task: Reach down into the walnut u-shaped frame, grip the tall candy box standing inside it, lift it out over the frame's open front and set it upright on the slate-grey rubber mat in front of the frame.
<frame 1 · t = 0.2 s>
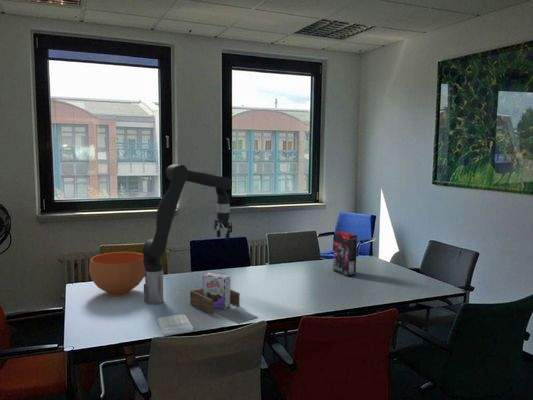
hand: (223, 238, 264), 29 cm above the table, tool pointing down, fingers open, 8 cm apart
calculator: (175, 327, 206), on the table
slate mat: (237, 315, 220), on the table
bowl: (118, 293, 251), on the table
candy box: (216, 306, 233), on the table
walnut u-shaped frame: (215, 305, 234), on the table
graphics card box: (344, 273, 300), on the table
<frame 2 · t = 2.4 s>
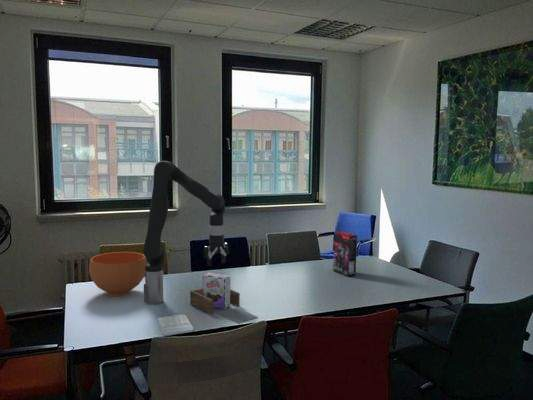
hand: (216, 264, 231), 22 cm above the table, tool pointing down, fingers open, 8 cm apart
nothing on the table moved.
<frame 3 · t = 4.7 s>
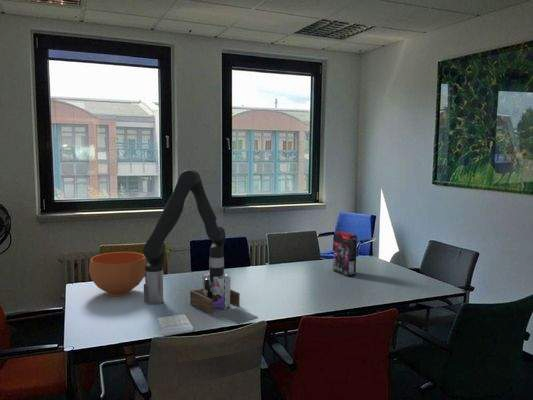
hand: (216, 296, 233), 5 cm above the table, tool pointing down, fingers closed on candy box, 7 cm apart
candy box: (216, 306, 233), on the table, touching gripper
everything else where it was.
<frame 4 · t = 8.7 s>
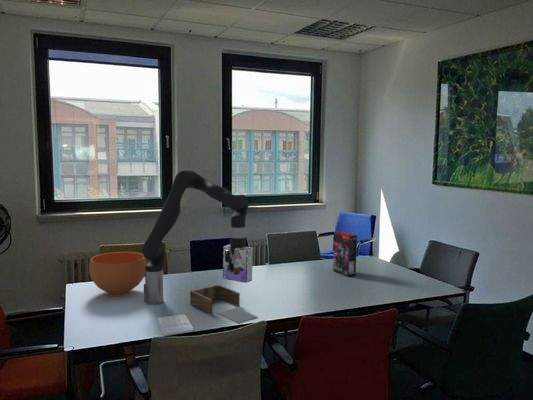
hand: (237, 269, 217), 23 cm above the table, tool pointing down, fingers closed on candy box, 7 cm apart
candy box: (237, 280, 218), point 18 cm above the table, touching gripper
everything else where it was.
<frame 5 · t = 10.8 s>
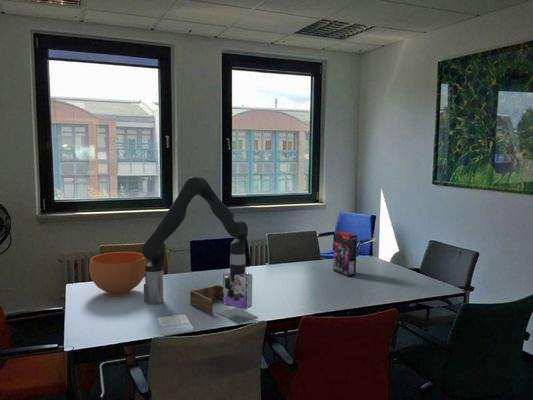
hand: (237, 295, 219), 10 cm above the table, tool pointing down, fingers closed on candy box, 7 cm apart
candy box: (237, 305, 219), point 5 cm above the table, touching gripper
everything else where it was.
when the fingers open (7 cm above the table, at t = 12.7 s): candy box drops 1 cm, resting on slate mat.
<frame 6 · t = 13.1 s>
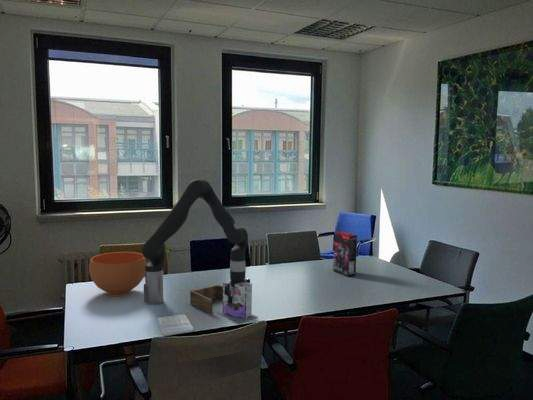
hand: (237, 301, 219), 7 cm above the table, tool pointing down, fingers open, 8 cm apart
candy box: (237, 315, 220), resting on slate mat
everything else where it was.
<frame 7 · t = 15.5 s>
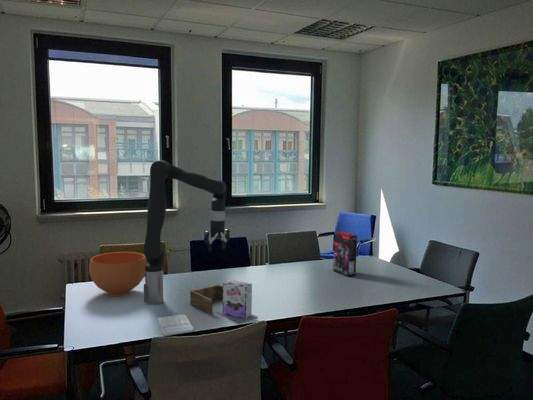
hand: (216, 250, 232), 29 cm above the table, tool pointing down, fingers open, 8 cm apart
nothing on the table moved.
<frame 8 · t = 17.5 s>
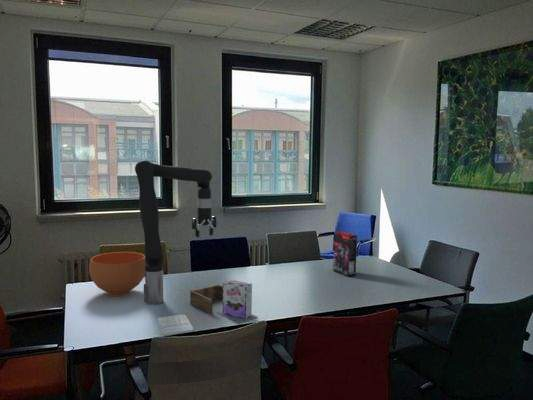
hand: (204, 236, 244), 34 cm above the table, tool pointing down, fingers open, 8 cm apart
nothing on the table moved.
at the end: candy box inside the target area on the slate mat (0.1 cm from its centre), point 0.1 cm above the slate mat's base; candy box tilted 0°; the gripper is holding nothing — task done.
